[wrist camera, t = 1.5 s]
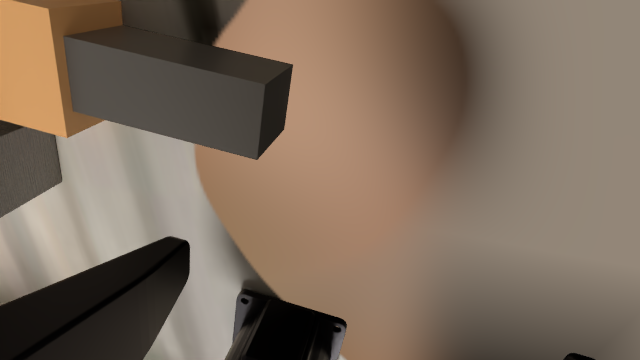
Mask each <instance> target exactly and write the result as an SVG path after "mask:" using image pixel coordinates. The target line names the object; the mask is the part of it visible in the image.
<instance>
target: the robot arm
mask: <svg viewBox="0 0 640 360" xmlns="http://www.w3.org/2000/svg"><path fill="white" fill-rule="evenodd" d="M189 271H190V245H189V243H188V242H187V241H186V240H183V239H179V238H176V237H172V236H169V237H165V238H163V239H160V240H158V241H156V242H153V243H151V244H148V245H146V246H144V247H141V248H139V249H136V250H134V251H132V252H129V253H127V254H124V255H122V256H119V257H117V258H115V259H112V260H110V261H107V262H105V263H103V264H100V265H98V266H95V267H93V268H91V269H88V270H86V271H83V272H81V273H78V274H76V275H74V276H71V277H69V278H66V279H64V280H62V281H59V282H57V283H54V284H52V285H49V286H47V287H45V288H42V289H40V290H37V291H35V292H33V293H30V294H28V295H25V296H23V297H21V298H18V299H16V300H13V301H11V302H8V303H6V304H4V305H1V306H0V360H143V358H144V357H145V355H146V354H147V352H148V351H149V349H150V348H151V346H152V344H153V342H154V341H155V339H156V337H157V335H158V334H159V332H160V330H161V328H162V326H163V324H164V323H165V321H166V319H167V317H168V315H169V313H170V312H171V310H172V308H173V306H174V304H175V302H176V301H177V299H178V297H179V295H180V293H181V292H182V290H183V288H184V286H185V284H186V282H187V280H188V277H189ZM245 298H246V299H245ZM247 299H248V300H247ZM336 326H338V327H336ZM346 327H347V324H346V322H345V321H344V320H343V319H341V318H338V317H334V316H331V315H328V314H325V313H322V312H318V311H315V310H312V309H308V308H305V307H302V306H299V305H295V304H292V303H289V302H285V301H282V300H279V299H276V298H272V297H269V296H266V295H262V294H259V293H256V292H252V291H249V290H242V291H241V292H240V293H239V295H238V297H237V301H236V312H235V322H234V332H233V343H232V346H231V348H230V350H229V352H228V354H227V356H226V358H225V360H337V359H338V356H339V353H340V349H341V346H342V342H343V339H344V336H345V332H346ZM563 360H595V359H593V358H591V357H587V356H584V355H581V354H577V353H569V354H568V355H567V356H566V357H565V358H564V359H563Z"/></svg>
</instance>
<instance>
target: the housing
mask: <svg viewBox="0 0 640 360" xmlns="http://www.w3.org/2000/svg"><path fill="white" fill-rule="evenodd" d="M61 182H62V179H61V173H60V167H59V160H58V154H57V148H56V142H55V136H54V134H51V133H47V132H43V131H40V130H36V129H32V128H29V127H25V126H21V125H18V124H14V123H10V122H7V121H3V120H0V218H1V217H2V216H4V215H6V214H8V213H9V212H11V211H13V210H14V209H16V208H18V207H20V206H21V205H23V204H25V203H26V202H28V201H30V200H32V199H33V198H35V197H37V196H38V195H40V194H42V193H43V192H45V191H47V190H49V189H50V188H52V187H54V186H55V185H57V184H59V183H61Z"/></svg>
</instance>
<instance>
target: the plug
mask: <svg viewBox="0 0 640 360" xmlns="http://www.w3.org/2000/svg"><path fill="white" fill-rule="evenodd" d="M292 68H293V64H288V63H284V62H280V61H276V60H271V59H266V58H263V57H258V56H254V55H250V54H245V53H241V52H236V51H232V50H228V49H224V48H219V47H215V46H210V45H206V44H202V43H197V42H193V41H189V40H184V39H180V38H176V37H171V36H167V35H163V34H159V33H154V32H150V31H146V30H141V29H137V28H133V27H128V26H124V25H123V24H122V8H121V1H118V0H0V120H3V121H7V122H10V123H14V124H18V125H21V126H25V127H29V128H32V129H36V130H40V131H43V132H47V133H51V134H54V135H58V136H62V137H65V138H68V137H70V136H72V135H74V134H76V133H79V132H81V131H83V130H85V129H87V128H89V127H91V126H93V125H96V124H98V123H100V122H102V121H104V120H108V121H111V122H115V123H119V124H123V125H126V126H130V127H134V128H138V129H142V130H145V131H149V132H153V133H157V134H161V135H164V136H168V137H172V138H176V139H180V140H183V141H187V142H191V143H195V144H199V145H202V146H206V147H210V148H214V149H218V150H221V151H226V152H229V153H233V154H237V155H240V156H244V157H248V158H252V159H256V160H257V159H258V158H259V157H260V156H261V155H262V154H263V153H264V151H265V150H266V149H267V148H268V147H269V146H270V145H271V144H272V142H273V141H274V140H275V139H276V138H277V137H278V136H279V135H280V133H281V132H282V131H283V130H284V126H285V119H286V112H287V105H288V97H289V90H290V83H291V75H292Z"/></svg>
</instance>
